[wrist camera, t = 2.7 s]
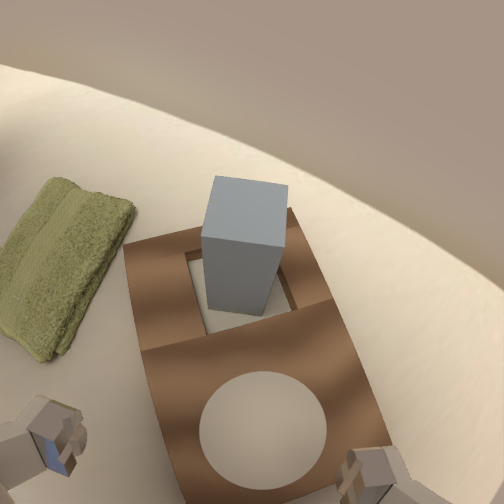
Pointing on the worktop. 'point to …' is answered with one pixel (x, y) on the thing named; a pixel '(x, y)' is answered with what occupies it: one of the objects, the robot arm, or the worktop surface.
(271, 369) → the walnut board
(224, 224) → the slate block
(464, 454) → the worktop surface
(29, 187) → the worktop surface
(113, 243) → the washcloth
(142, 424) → the worktop surface
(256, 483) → the felt coaster
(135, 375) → the worktop surface
